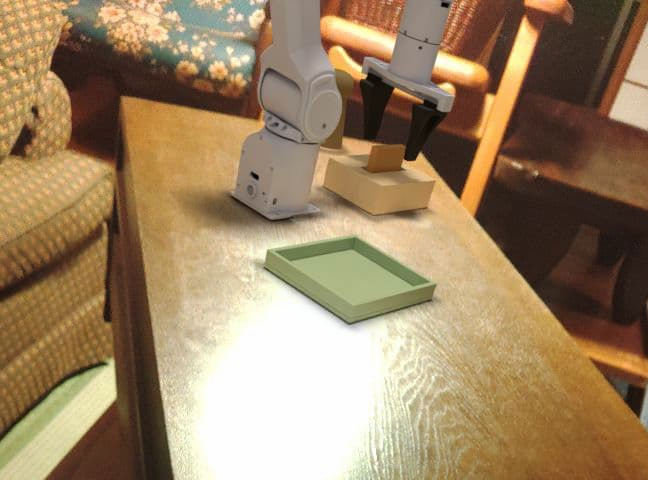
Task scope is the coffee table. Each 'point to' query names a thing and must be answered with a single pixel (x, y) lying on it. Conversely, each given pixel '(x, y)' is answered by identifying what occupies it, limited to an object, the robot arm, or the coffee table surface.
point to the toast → (386, 158)
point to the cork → (345, 89)
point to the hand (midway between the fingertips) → (389, 149)
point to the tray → (350, 276)
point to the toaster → (377, 185)
